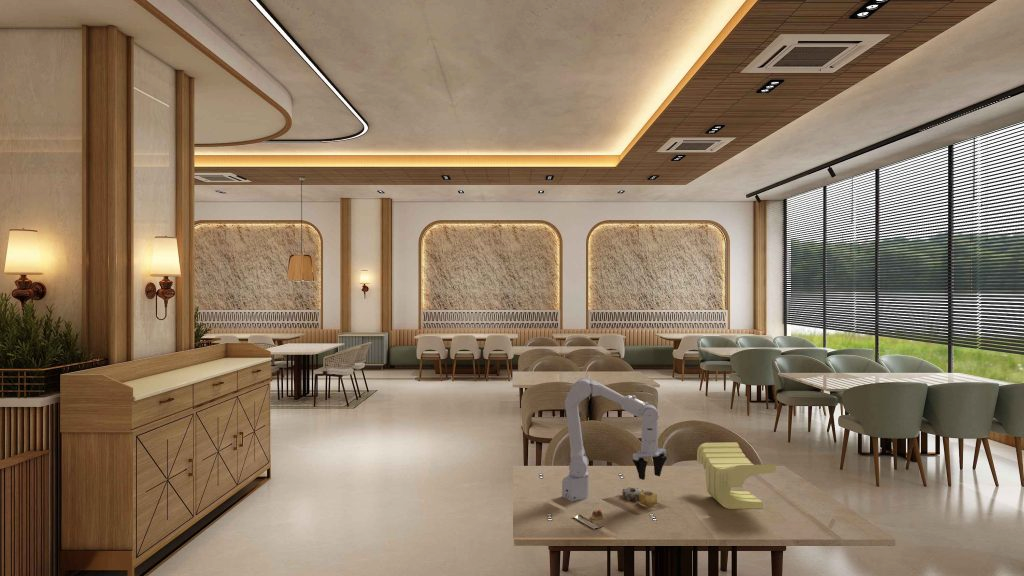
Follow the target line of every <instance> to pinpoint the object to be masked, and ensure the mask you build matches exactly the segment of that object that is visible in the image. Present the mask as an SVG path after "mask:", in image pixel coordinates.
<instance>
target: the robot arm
mask: <svg viewBox="0 0 1024 576" xmlns="http://www.w3.org/2000/svg"><path fill="white" fill-rule="evenodd" d="M590 395H591V396H592V397H598V396H602V397H604V398H606V399H608V400H610V401H612V402H615V403H617V404H619V405H620V406H621V409H622V410H623V411H626V412H627V413H629V414H631V415H633V416H635V417H637V418H641V421H642V424H641V450H639V451H638V452H635V453H633V454H632V462H633V464H634V466H635V467H636V470H637V475H638V478H639V480H642V481H643V480H645V479H646V469H647V465H648V462H649V461H646V460H645V459H647V458H652V460H653V461H652V463H653V471H654V472H653V473H654V476H656V477H660V476H661V474H662V472H663V468H664V464H665V462H666V461H667V458H668V457H667V449H666V448H659V426H658V424H659V423H658V420H659V417H660V416H659V412H658V409H657V408H656V407H655V406H654V405H653V404H652V403H649V402H647V401H645V402H644V401H642V400H640V399H638V398H637V396H636V395H634V394H633V395H630V394H628V395H626V396H625V395H623V394H621V393H619V392H617V391H615V390H614V389H612V388H610V387H608V386H606V385H605V384H603V383H601V382H598V381H596V380H593V379H592V380H591V379H590V378H589V377H581V378H579V379H578V380H577V381H576V382H575V383H574V384H573V385H572V387H571V388H570V390H569V392H568V394H567V396H566V398H565V400H564V408H565V416H566V424H567V430H568V431H567V432H568V440H569V447H570V454H569V455H570V456H569V457H570V463H569V466H568V470H569V473H568V475H567V476H565V477H563V479H562V481H561V482H562V483H561V485H562V486H561V497H562V498H564V499H566V500H568V501H570V502H576V501H582V500H583V501H584V500H586V499H588V498H589V496H590V495H589V494H590V493H589V491H590V490H589V489H590V485H589V484H590V480H589V478H590V476H589V475H590V474H589V472H588V470H587V469H588V467H589V462H590V461H589V459H588V457H587V455H586V450H585V447H584V440H583V433H582V426H581V420H580V419H581V418H580V410H579V404H581V402H582V401H583V400H585V399H586V398H588V397H590Z"/></svg>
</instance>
